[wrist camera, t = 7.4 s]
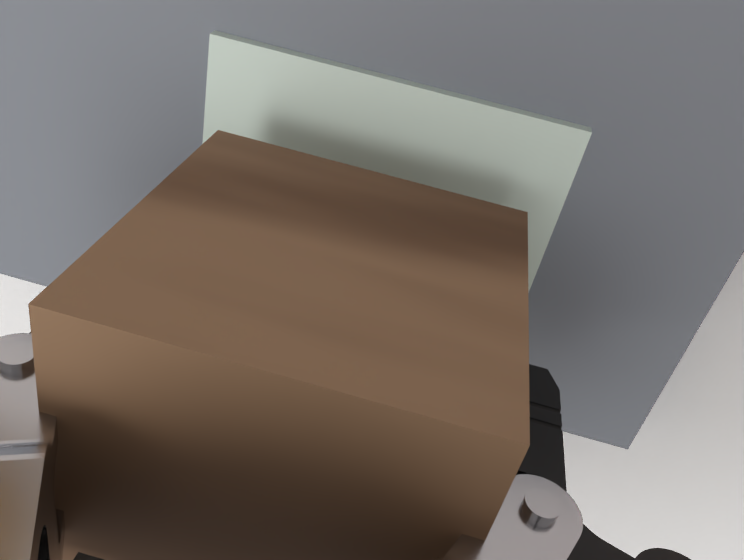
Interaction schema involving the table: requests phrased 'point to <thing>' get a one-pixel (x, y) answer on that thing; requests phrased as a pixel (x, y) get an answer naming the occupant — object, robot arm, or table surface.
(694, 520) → the table surface
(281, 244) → the walnut block
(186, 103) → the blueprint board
